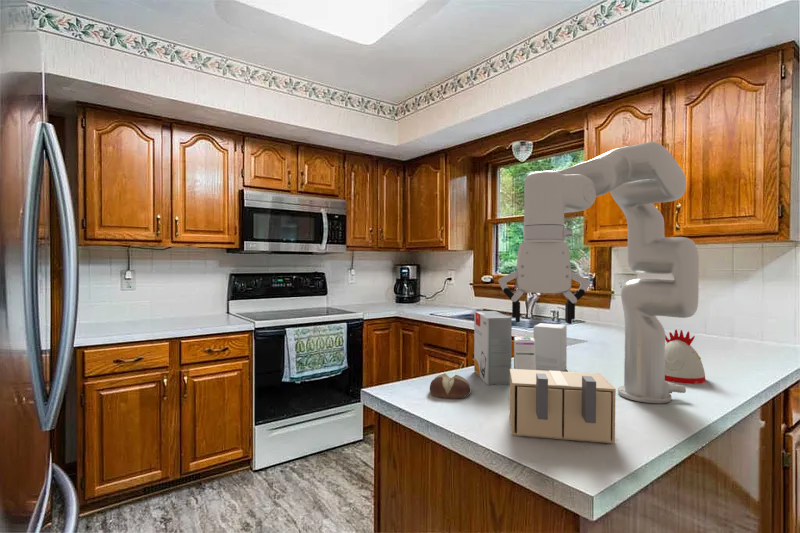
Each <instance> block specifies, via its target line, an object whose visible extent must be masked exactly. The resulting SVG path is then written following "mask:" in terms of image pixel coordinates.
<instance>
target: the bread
mask: <svg viewBox="0 0 800 533" xmlns="http://www.w3.org/2000/svg"><path fill="white" fill-rule="evenodd" d="M471 390H472V389H471V385H470V383H469V381H468V380H467V379H466V378H465V377H463V376H461V375H458V374H454V375H453V376H452V377H450V376H449V375H448V374H447V373H445V372H444V373H442V374H439V375H437V376H435V378H434V379H433V380H431V382H430V385H429V392H430V395H432V396H433V397H434V398H438V399H449V400H452V399H454V400H455V399H456V400H457V399H459V400H461V399H463V398H466V397H468V396H469V395H470V394H471Z"/></svg>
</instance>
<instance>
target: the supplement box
mask: <svg viewBox="0 0 800 533" xmlns="http://www.w3.org/2000/svg"><path fill="white" fill-rule="evenodd" d="M567 327H568V326H567V324H560V323H559V324H557V323H544V322H543V323H542V322H540V323H538V324H534V326H533V338H534V340H535V355H536V370H543V371H549V370H551V371H562V372H566V370H567V369H568V368H567V362H568V361H567V359H568V358H567V350H568V349H567V340H568V338H567V337H568V336H567V333H568V332H567V330H568V329H567Z"/></svg>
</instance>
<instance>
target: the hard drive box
mask: <svg viewBox="0 0 800 533" xmlns="http://www.w3.org/2000/svg"><path fill="white" fill-rule="evenodd" d="M473 314H474V316H473V317H474V318H473V319H474V324H473V327H474V331H473V334H474V337H473V338H474V339H473V340H474V341H473V342H474V345H473V346H474V347H473V349H474V352H473V354H474V355H473V356H474V357H473V358H474V359H473V362H474V364H473V365H474V372H475V374H476V375H477V376H478V377H480V379H481V380H482V382H484V383H485V384H486V385H487V384H488V385H487V386H494V385H493V384H507V385H508V384H509V385H510V369H512V344H513V343H512V332H513V331H512V327H513V326H512V324H513V323H512V322H513V321H512V318H513V317H510V316H508V315H506V314H503V313H501V312H498V311H496V310H479V311H478V310H475V311H474V312H473Z"/></svg>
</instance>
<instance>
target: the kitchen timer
mask: <svg viewBox="0 0 800 533" xmlns="http://www.w3.org/2000/svg"><path fill="white" fill-rule="evenodd" d="M668 334H669V337H670V338H668V337H667V335H666V334H665V381H666V382H670V383H671V382H672V383H675V384H676V383H677V384H687V385H699V384H703V383H705V382H706V373H705V372H706V371H705V368H704V364H703V362H702V360H701V359H702V358H701V357H700V355H699V353H698V352H697V350H695V348H694V347H693V346H692V343H693V341H694V340H695V335H694V336H692V337H691V336H690V335H691V334H690V331H687V332H686V335H685V336H684V332H683V330H682V329H681V330H680V332H678V329H675V330H674V334H673V333H672V332H671V331H670V332H669V333H668Z"/></svg>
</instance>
